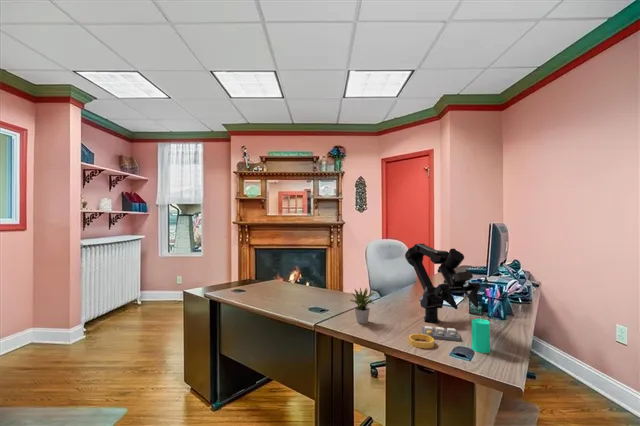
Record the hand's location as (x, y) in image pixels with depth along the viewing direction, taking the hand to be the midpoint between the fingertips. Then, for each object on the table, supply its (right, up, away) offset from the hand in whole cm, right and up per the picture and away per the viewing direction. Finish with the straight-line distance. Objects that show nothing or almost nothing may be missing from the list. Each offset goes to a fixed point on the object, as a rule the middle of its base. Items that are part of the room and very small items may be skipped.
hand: (467, 308), depth 121 cm
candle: (+1, -13, -8) cm, 15 cm away
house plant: (-38, -14, +22) cm, 46 cm away
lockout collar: (-19, -13, -2) cm, 23 cm away
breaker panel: (-8, -13, +7) cm, 17 cm away
